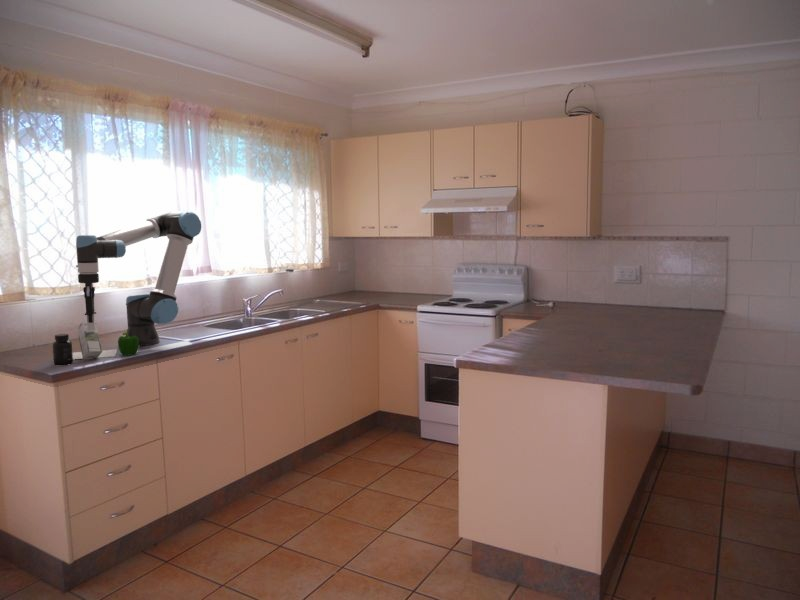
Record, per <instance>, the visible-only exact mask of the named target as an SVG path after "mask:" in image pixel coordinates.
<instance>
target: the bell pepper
mask: <svg viewBox="0 0 800 600" xmlns="http://www.w3.org/2000/svg"><path fill="white" fill-rule="evenodd" d="M126 332H127V331H126ZM126 332H123V333H122V335H123V336H119V337H118V340H117V343H118V344H117V347H118V350H119V352H120V354H121V355H122V356H127V357H129V356H131V355H133V354H134V355H136V354H137V353H138V350H139V347H140V346H139V339H138V338H137V336H131V337H130V336H129V335H128V333H126ZM134 355H133V356H134Z"/></svg>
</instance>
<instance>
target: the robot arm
mask: <svg viewBox="0 0 800 600" xmlns="http://www.w3.org/2000/svg"><path fill="white" fill-rule="evenodd" d="M201 231H202V221H201V220H200V218H199V216H198V215H197V214H196V213H194V212H192V211H188V210H187V211H186V210H183V211H167V212H163V213H160V214H158V215H155V216H152V217H150V218H147V219H146V220H145V222H141V223H137V224H136V225H132V226H129V227H125V228H122V229H119V230H117V231H113V232H110V233H107V234H104V235H101V236H98V237H97V235H94V234H93V235H92V234H91V235H90V234H89V235H87V234H84V235H82V234H81V235H80V234H79V235H78V236H76V239H75V240H76V241H75V243H76V244H75V248H76V261H77V265H75V267H76V268H77V273H78V274H77V282H78V283H79V284H84V287H82V288H83V289H82V290H83V293H84V294H83V295H84V301H85V313H84V316H86V323H87V330H88V331H90V330H95V323H96V322H95V321H96V319H95V315H96V314H97V312H96V311H95V297H96V296H95V291H96V287H95V286H94V285H93V284H97V283H99V282H100V275H99V271H100V270H99V259H110V258H111V259H117V258H122V257H124V256H125V255H126V252H127V251H126V250H127V249H126V247H128V246H130V245H134V244H137V243H139V242H142V241H145V240H149V239H151V238H153V239H158V238H162V237H167V239H168V243H167V245H166V250H165V253H164V257H163V259H162V263H161V265H160V270H159V274H158V277H157V281H156V284H155V287H154V289H152V290H150V291H149V293H146V294H145V293H144V294H143V293H142V294H136V295H134V294H133V295H128V296H127V297H126V300H125V302H126V303H125V306H126V321H127V330H126V333H128V335H129V336H130V337H131V336H137V338H138V339H139V347H140V346H142V347H143V346H149V345H155V344H158V343H159V342H160V336H159V333H158V332H157V329H156V327H155V324H158V325H167V324H169V323H171V322H173V321H174V320H175V319H176V318H177V316H178V313H179V306H178V302H177V296H176V294H175V292H176V288H177V284H178V281H179V278H180V274H181V271H182V267H183V265H184V264H183V263H184V261H185V257H186V254H187V250H188V246H189V245H191V244H193V240H194V238H195V237H197V236H198V235H199V234H200V233H201Z"/></svg>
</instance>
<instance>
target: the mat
mask: <svg viewBox="0 0 800 600" xmlns="http://www.w3.org/2000/svg"><path fill="white" fill-rule="evenodd" d="M117 352H118V349H105V350H102V353H101V354H100V355H99V357H98V358H97V359H104V358H103V357H109V358H116V357H117ZM115 356H116V357H115ZM75 359H83V357H82V351H77V352H75V351H74V352H73V361H76V360H75ZM83 360H84V359H83ZM88 360H93V358H89V359H88Z"/></svg>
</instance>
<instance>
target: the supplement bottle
mask: <svg viewBox="0 0 800 600" xmlns="http://www.w3.org/2000/svg"><path fill="white" fill-rule="evenodd" d="M69 338H70V337H69V333H58V334H55V335H54V342H53V343H52V354H53V355H52V356H53V365H54V366H56V365H65V366H69V365H68V364H70V365H72V364H74V360H73V353H74V352H73V343H72V341H71V340H69Z"/></svg>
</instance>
